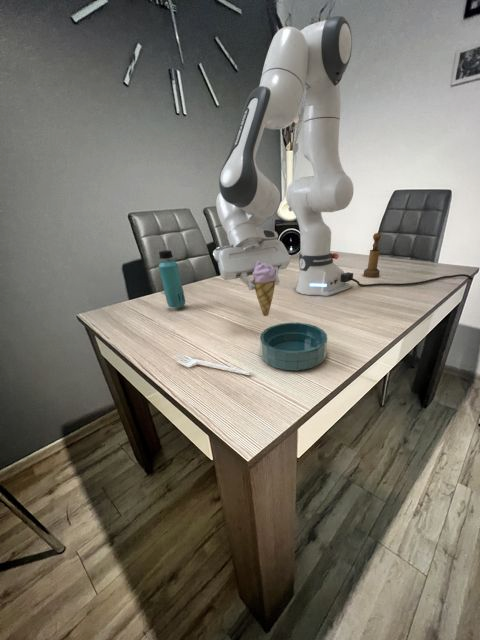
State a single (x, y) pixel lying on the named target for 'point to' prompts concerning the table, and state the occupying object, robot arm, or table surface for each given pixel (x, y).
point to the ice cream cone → (264, 285)
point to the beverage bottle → (171, 280)
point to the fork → (206, 364)
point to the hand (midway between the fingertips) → (265, 286)
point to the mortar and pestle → (373, 259)
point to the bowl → (293, 346)
